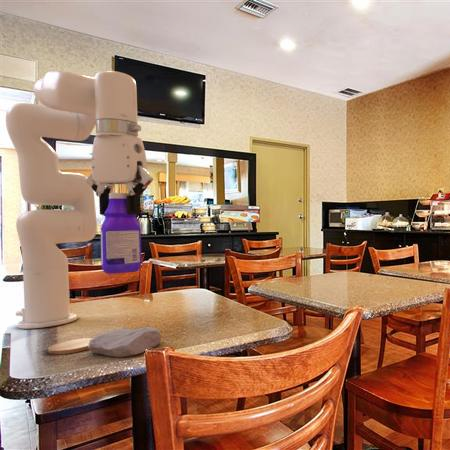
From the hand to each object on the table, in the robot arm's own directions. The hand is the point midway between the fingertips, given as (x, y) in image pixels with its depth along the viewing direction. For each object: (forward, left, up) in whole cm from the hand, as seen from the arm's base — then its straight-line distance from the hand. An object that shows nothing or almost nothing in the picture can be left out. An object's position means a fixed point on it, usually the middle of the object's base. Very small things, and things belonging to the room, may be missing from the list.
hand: (120, 213), depth 89 cm
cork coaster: (-12, 0, -30) cm, 32 cm away
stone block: (+1, -1, -30) cm, 30 cm away
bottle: (0, 0, -13) cm, 13 cm away
